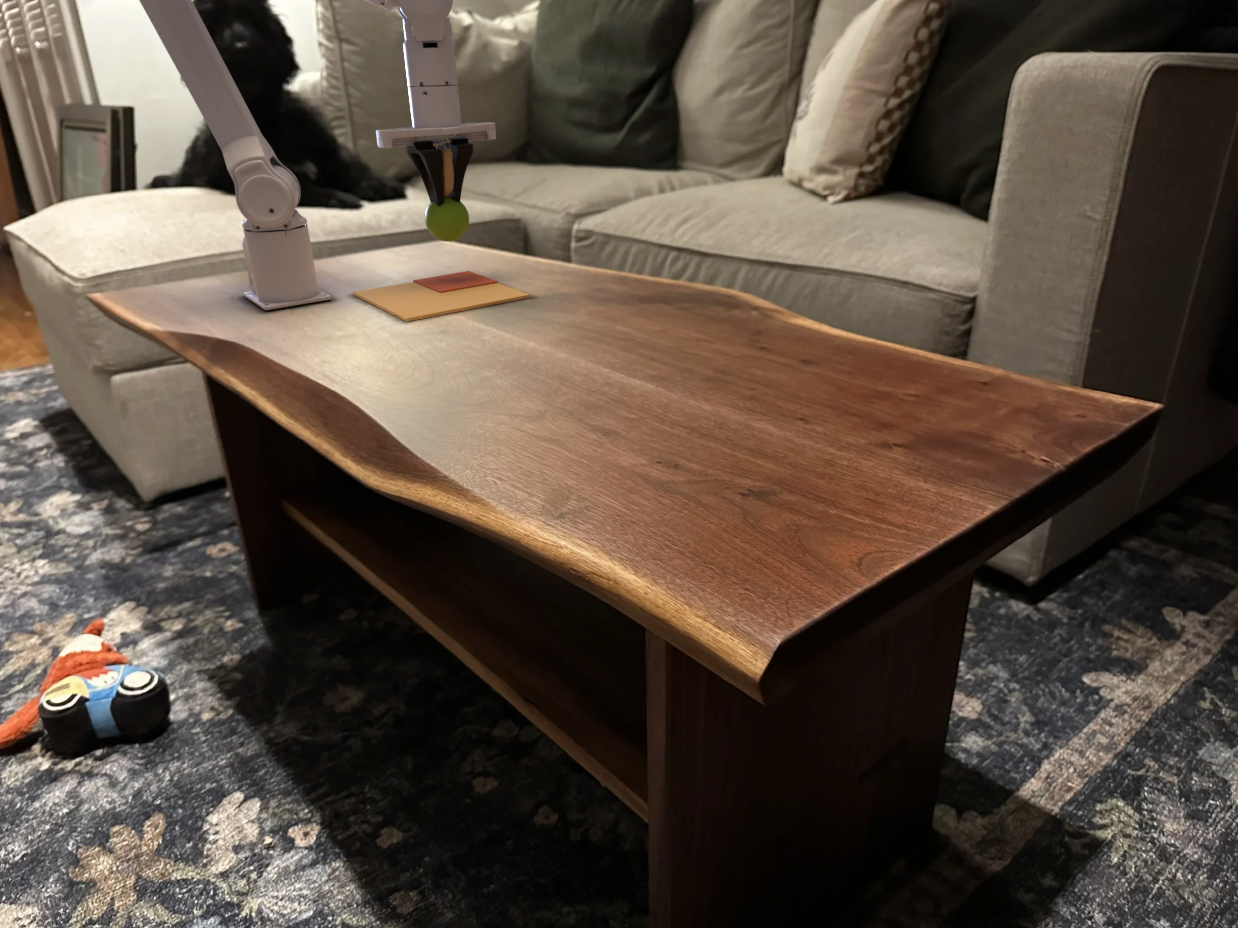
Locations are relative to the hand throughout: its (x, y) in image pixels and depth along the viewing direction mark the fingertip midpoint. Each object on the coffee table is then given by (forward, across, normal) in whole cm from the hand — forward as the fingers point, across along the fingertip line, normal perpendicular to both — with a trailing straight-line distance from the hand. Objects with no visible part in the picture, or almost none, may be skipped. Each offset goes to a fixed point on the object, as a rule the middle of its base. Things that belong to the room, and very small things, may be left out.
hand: (445, 206), depth 107 cm
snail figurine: (+4, 0, 0) cm, 4 cm away
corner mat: (+10, -4, -4) cm, 11 cm away
